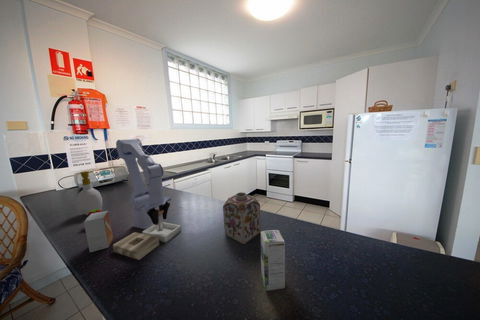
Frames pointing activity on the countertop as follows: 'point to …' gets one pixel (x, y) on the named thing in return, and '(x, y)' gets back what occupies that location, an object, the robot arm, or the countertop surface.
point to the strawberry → (94, 211)
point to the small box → (98, 231)
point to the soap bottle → (88, 195)
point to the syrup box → (273, 259)
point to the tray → (164, 235)
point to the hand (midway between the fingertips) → (160, 221)
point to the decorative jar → (242, 217)
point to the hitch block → (136, 245)
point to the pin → (160, 221)
